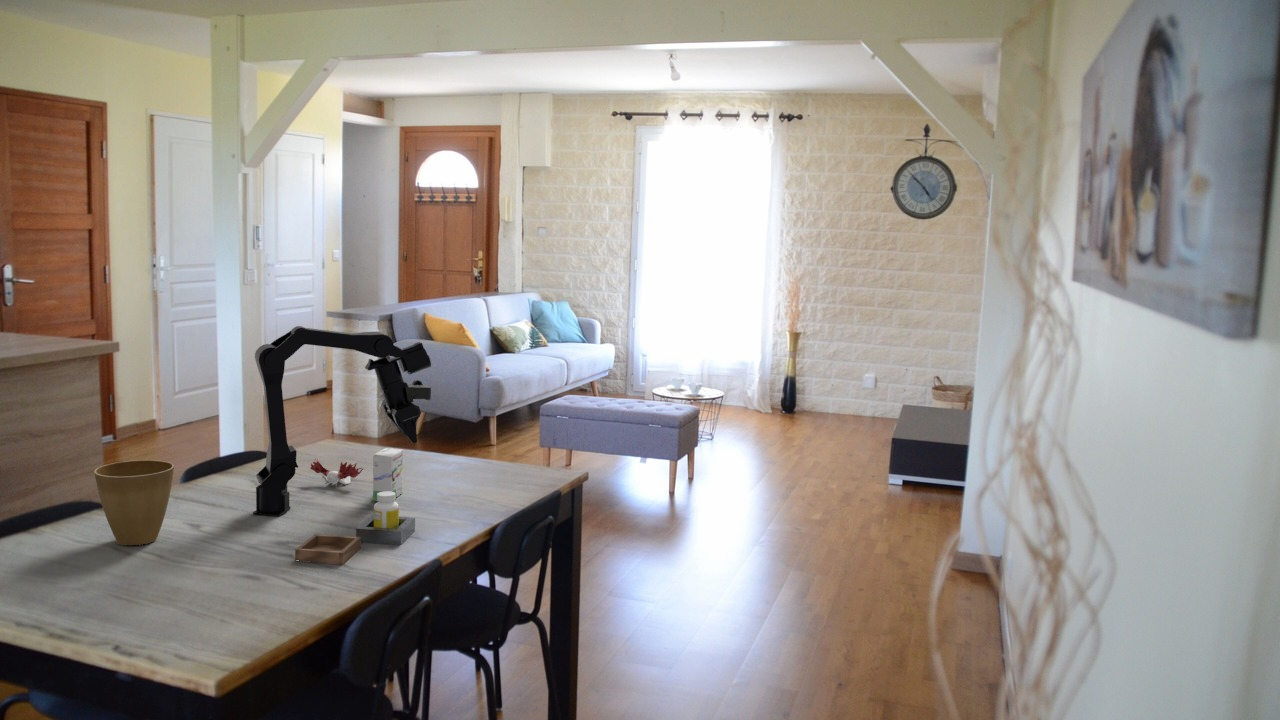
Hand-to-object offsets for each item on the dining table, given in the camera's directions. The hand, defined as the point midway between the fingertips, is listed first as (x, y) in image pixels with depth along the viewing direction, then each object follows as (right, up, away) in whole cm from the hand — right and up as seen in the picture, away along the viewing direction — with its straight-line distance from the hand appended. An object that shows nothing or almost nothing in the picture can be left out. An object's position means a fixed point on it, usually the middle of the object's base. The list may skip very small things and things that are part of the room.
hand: (411, 439), depth 242 cm
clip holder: (+1, -19, -26) cm, 33 cm away
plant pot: (-50, -19, -36) cm, 64 cm away
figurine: (-22, -13, +13) cm, 29 cm away
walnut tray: (-8, -21, -40) cm, 45 cm away
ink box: (-7, -15, +4) cm, 17 cm away
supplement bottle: (+1, -20, -26) cm, 33 cm away
